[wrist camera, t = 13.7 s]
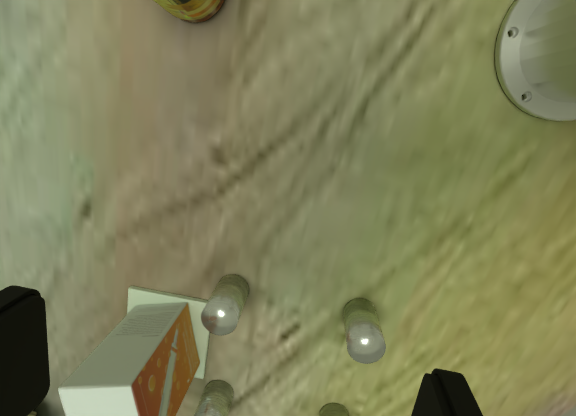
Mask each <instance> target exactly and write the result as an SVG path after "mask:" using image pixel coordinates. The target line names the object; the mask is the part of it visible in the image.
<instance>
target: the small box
mask: <svg viewBox="0 0 576 416" xmlns="http://www.w3.org/2000/svg"><path fill="white" fill-rule="evenodd" d="M199 365H200V360H199V357H198V352H197V348H196V343H195V338H194V334H193V329H192V323H191V318H190V313H189V307H188V303H187V302H181V303H167V304H150V305H137V306H135V307H134V308H133V309H132V310H131V311H130V312H129V313H128V314H127V315H126V316H125V317H124V318H123V320H122V321H121V322H120V323H119V324H118V325H117V326H116V327H115V328H114V329H113V330H112V331H111V332H110V333H109V334H108V336H107V337H106V338H105V339H104V340H103V341H102V342H101V343H100V344H99V345H98V346H97V347H96V348H95V349H94V351H93V352H92V353H91V354H90V355H89V356H88V357H87V358H86V359H85V360H84V361H83V362H82V363H81V365H80V366H79V367H78V368H77V369H76V370H75V371H74V372H73V373H72V374H71V375H70V376H69V377H68V378H67V379H66V381H65V382H64V383H63V384H62V385H61V386H60V387H59V388H58V392H59V395H60V399H61V402H62V405H63V409H64V412H65V415H66V416H175V415H176V413H177V411H178V409H179V407H180V405H181V403H182V400H183V398H184V396H185V394H186V392H187V390H188V388H189V386H190V384H191V382H192V379H193V377H194V375H195V373H196V371H197V369H198V367H199Z"/></svg>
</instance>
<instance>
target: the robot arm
mask: <svg viewBox="0 0 576 416" xmlns="http://www.w3.org/2000/svg"><path fill="white" fill-rule="evenodd" d="M508 31H509V32H510V37H509V36H508ZM495 67H496V71H497V76H498V80H499V82H500V84H501V86H502V88H503V91H504V92H505V94H506V95H507V96H508V98H509V99H510V100H511V102H512V103H514V104H515V105H516V106H517V107H518V108H520V109H521V110H522V111H524V112H526V113H528V114H530V115H532V116H534V117H538V118H541V119H545V120H554V121H574V120H576V0H515V2H514V3H513V4H512V6H511V7H510V9H509V11H508V12H507V14H506V16H505V18H504V20H503V22H502V25H501V28H500V30H499V33H498V36H497V42H496V48H495ZM522 94H523V95H524V98H523V99H521V98H522ZM49 387H50V376H49V360H48V343H47V327H46V311H45V301H44V299H43V298H42V297H41V295H40V293H39V291H37V290H35V289H30V288H25V287H20V286H9V287H6V288H5V289H3V290H1V291H0V416H28V415H29V414H30V413H31V412H32V411H33V410H34V409H35V408H36V407H37V406H38V405H39V404H40V403H41V402H42V400H43V399H44V398H45V396H46V395H47V393H48V390H49ZM411 416H483V415H482V413H481V411H480V408H479V406H478V404H477V402H476V400H475V398H474V396H473V394H472V392H471V390H470V388H469V386H468V384H467V381H466V379H465V378H464V376H463V375H462V374H461V373H457V372H452V371H447V370H442V369H434V370H433V371H432V374H428V373H426V374H425V375H424V377H423V379H422V383H421V386H420V389H419V392H418V396H417V399H416V402H415V405H414V409H413V412H412V415H411Z"/></svg>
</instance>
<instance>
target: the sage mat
mask: <svg viewBox="0 0 576 416" xmlns="http://www.w3.org/2000/svg"><path fill="white" fill-rule="evenodd" d="M181 302H187V303H188V307H189V313H190V318H191V323H192V329H193V334H194V338H195V343H196V348H197V352H198V357H199V360H200V365H199V367H198V369H197V371H196V373H195V375H194V377H196V378H201V379H203V378H204V376H205V368H206V360H207V352H208V344H209V336H210V332H209V331H208V330H207V329H206V328H205V327H204V326H203V324H202V321H201V313H202V311H203V309H204V307H205V305H206V304H207V302H208V300H204V299H198V298H193V297H188V296H183V295H177V294H172V293H167V292H162V291H157V290H151V289H146V288H141V287H136V286H130V287H129V289H128V309H127V314H128V313H129V312H130V311H131V310H132V309H133V308H134V307H135V306H137V305H150V304H167V303H181Z"/></svg>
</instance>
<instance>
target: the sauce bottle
mask: <svg viewBox="0 0 576 416" xmlns="http://www.w3.org/2000/svg"><path fill="white" fill-rule="evenodd" d="M154 1H155V2H156V3H158V4H159V5H160V6H162V7H163V8H164V9H165V10H167V11H168V12H169V13H171V14H172V15H174V16H176V17H178V18H180V19H181V20H184V21H188V22H201V21H206V20H208V19H209V18H211V17H212V16H213V15H214V14H215V13H216V12H217V11H218V10H219V9H220V8H221V5H222V4H223V2H224V0H154Z"/></svg>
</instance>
